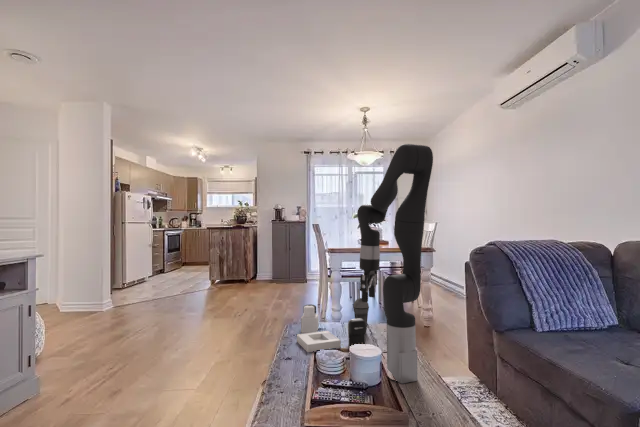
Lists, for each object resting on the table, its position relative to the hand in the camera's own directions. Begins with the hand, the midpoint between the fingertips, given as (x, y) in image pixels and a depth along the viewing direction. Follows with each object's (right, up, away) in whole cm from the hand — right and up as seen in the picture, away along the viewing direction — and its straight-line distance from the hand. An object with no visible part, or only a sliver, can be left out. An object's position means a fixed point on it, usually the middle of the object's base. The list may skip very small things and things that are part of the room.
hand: (368, 299), depth 142 cm
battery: (-4, -21, +7) cm, 23 cm away
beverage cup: (0, -22, +27) cm, 35 cm away
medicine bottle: (-23, -22, +30) cm, 44 cm away
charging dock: (-19, -21, +11) cm, 31 cm away
